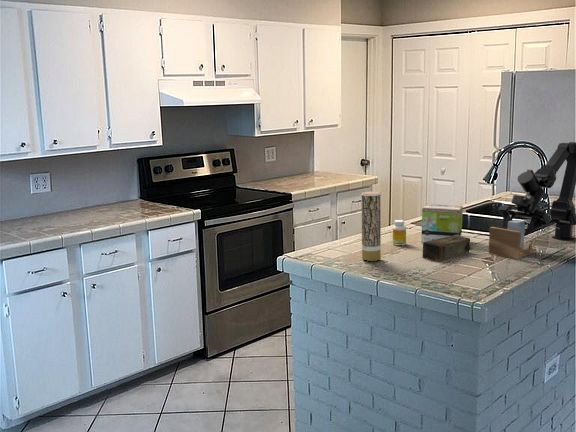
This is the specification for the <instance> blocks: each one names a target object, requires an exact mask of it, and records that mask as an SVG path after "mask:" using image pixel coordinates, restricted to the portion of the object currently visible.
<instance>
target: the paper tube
mask: <svg viewBox="0 0 576 432" xmlns="http://www.w3.org/2000/svg"><path fill="white" fill-rule="evenodd" d="M381 215H382V213H381V192H380V191H364V192H361V258H362V261H364V260H367V261H366V262H368V261H375V262H378V261H377V260H379V261H380V260H381V256H382V255H381V254H382V253H381V251H382V250H381V247H382V246H381V245H382V244H381V241H382V240H381V239H382V238H381V232H382V231H381V230H382V229H381V219H382V217H381Z"/></svg>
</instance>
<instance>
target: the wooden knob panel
mask: <svg viewBox="0 0 576 432" xmlns="http://www.w3.org/2000/svg"><path fill="white" fill-rule="evenodd" d="M520 245H521V232H520V231H514V230H509V229H508V228H507V229H503V228H501V227H496V226H490V227H489V239H488V254H491V255H493V256H494V255H495V256H499V257H505V258H508V259H513V260H520V259H521V258H524V257H527V256H530V255H532V254H536V253H537V249H536V248H533V244H532V243H528V248H527V249H526V248H525V249H524V250H523V247H520ZM526 255H527V256H526ZM523 256H524V257H523ZM520 257H521V258H520Z"/></svg>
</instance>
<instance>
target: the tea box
mask: <svg viewBox="0 0 576 432" xmlns="http://www.w3.org/2000/svg"><path fill="white" fill-rule="evenodd" d="M463 206H464V205H456V204H438V203H435V204H434V203H426V204H425V205H424V206H423V207H422V210H421V243H423V242H426V241H431V240H435V239H439V238H444V237H449V236H453V235H459V236H461V237H463V235H462V233H463V209H464V208H463Z"/></svg>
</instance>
